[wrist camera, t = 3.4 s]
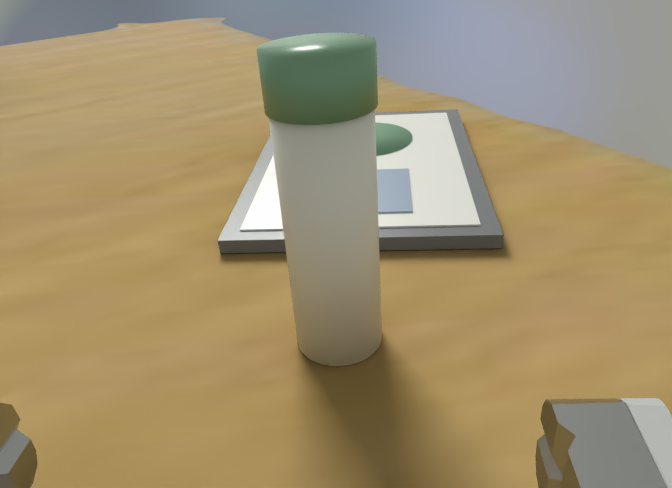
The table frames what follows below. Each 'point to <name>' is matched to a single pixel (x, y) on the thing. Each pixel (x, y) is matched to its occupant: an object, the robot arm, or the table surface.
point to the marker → (327, 187)
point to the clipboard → (390, 191)
